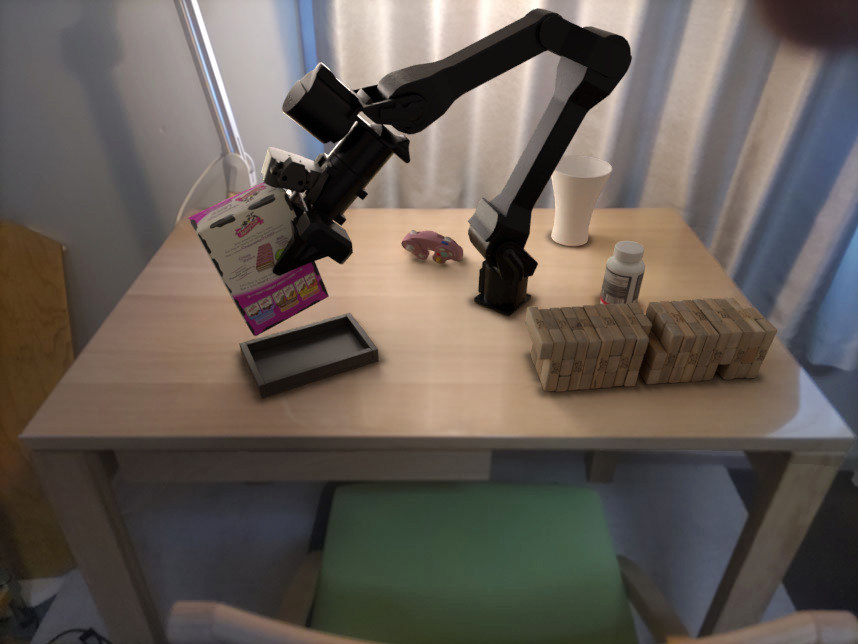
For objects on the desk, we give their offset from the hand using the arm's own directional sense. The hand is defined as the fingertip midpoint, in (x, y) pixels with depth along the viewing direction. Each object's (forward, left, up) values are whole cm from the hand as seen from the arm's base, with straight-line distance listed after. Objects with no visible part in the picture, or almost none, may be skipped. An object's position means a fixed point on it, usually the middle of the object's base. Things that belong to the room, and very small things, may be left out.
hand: (272, 262), depth 76 cm
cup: (-15, -53, -12) cm, 56 cm away
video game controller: (-2, -31, -12) cm, 33 cm away
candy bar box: (0, -1, -7) cm, 7 cm away
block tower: (-40, -25, -12) cm, 49 cm away
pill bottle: (-31, -38, -12) cm, 51 cm away
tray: (-5, 0, -12) cm, 13 cm away
